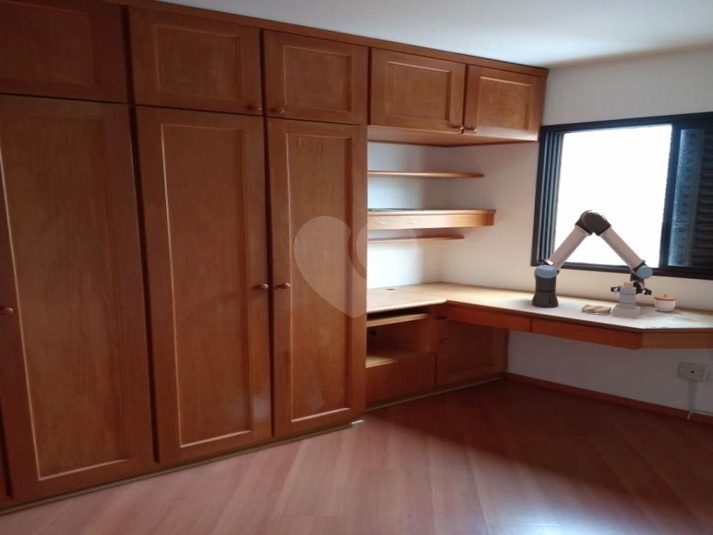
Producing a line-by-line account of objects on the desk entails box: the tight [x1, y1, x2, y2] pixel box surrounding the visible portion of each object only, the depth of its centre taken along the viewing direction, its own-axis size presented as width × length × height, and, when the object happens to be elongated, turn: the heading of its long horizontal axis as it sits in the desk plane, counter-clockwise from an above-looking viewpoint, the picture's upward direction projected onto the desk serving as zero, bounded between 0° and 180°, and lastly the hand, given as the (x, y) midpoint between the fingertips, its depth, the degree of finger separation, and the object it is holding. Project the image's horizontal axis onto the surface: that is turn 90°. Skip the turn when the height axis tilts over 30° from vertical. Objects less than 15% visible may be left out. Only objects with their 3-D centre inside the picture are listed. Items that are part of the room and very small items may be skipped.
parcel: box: [623, 281, 633, 289], centre depth 277 cm, size 4×4×3 cm
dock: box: [611, 303, 642, 319], centre depth 279 cm, size 12×14×4 cm
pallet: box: [581, 304, 612, 316], centre depth 286 cm, size 13×13×2 cm
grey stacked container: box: [618, 285, 637, 309], centre depth 278 cm, size 7×7×11 cm
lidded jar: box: [653, 293, 677, 312], centre depth 289 cm, size 11×11×9 cm
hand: (628, 293), depth 277 cm, fingers open, 13 cm apart
